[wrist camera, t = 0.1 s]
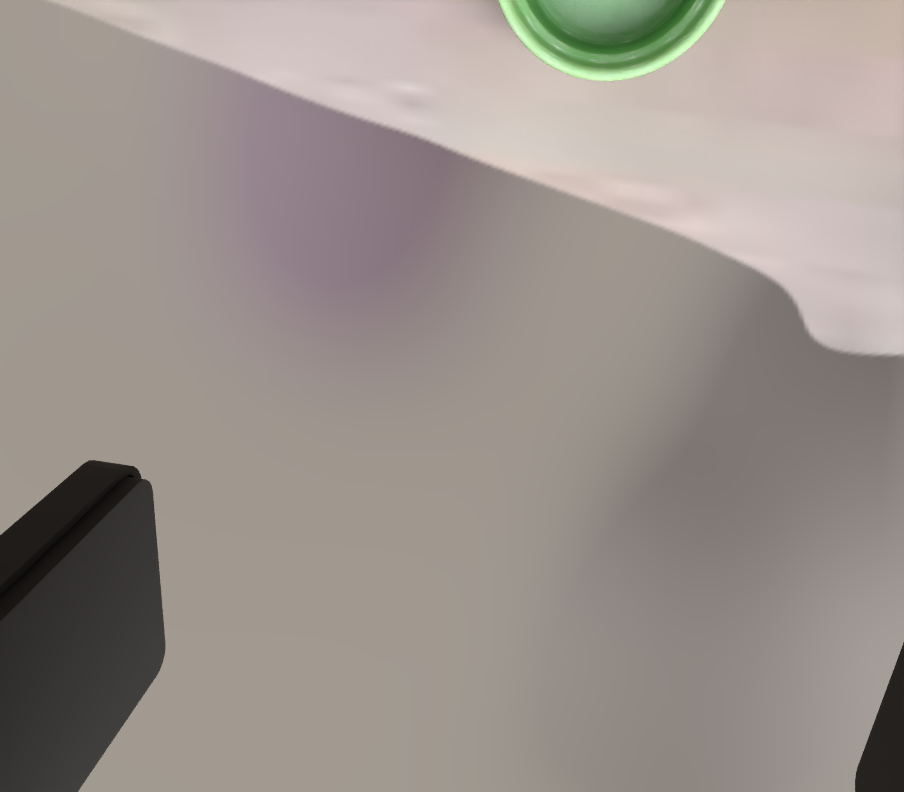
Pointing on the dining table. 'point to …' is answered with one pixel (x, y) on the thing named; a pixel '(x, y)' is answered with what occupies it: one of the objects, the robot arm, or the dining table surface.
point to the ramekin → (609, 33)
